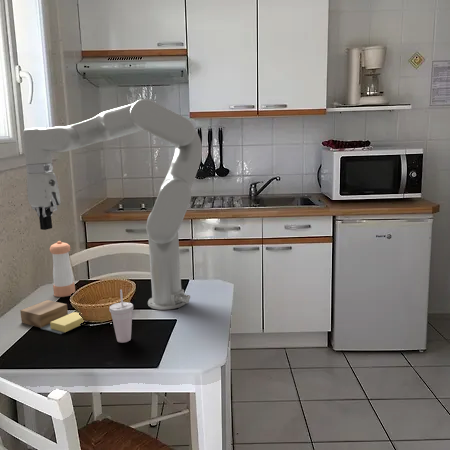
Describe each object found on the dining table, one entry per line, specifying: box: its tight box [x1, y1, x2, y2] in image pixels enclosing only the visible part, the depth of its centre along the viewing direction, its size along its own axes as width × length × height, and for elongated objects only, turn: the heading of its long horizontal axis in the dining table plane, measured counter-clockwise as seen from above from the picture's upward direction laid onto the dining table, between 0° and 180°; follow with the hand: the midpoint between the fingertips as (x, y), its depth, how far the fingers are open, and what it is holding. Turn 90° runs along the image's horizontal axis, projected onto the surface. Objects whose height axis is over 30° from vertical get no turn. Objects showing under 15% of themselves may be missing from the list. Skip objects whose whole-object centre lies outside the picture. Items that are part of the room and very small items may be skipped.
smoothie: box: [108, 289, 134, 344], centre depth 134 cm, size 6×6×14 cm
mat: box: [40, 324, 65, 335], centre depth 147 cm, size 9×11×1 cm
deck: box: [19, 299, 69, 329], centre depth 151 cm, size 9×10×4 cm
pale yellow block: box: [50, 311, 84, 333], centre depth 146 cm, size 9×6×2 cm, turn 149°
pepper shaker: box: [49, 240, 76, 298], centre depth 174 cm, size 7×7×19 cm
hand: (46, 228), depth 153 cm, fingers closed
